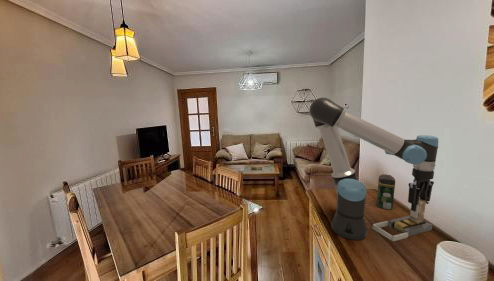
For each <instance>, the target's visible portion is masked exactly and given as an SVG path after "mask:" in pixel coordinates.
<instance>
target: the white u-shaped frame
mask: <svg viewBox="0 0 494 281" xmlns="http://www.w3.org/2000/svg"><path fill="white" fill-rule="evenodd" d="M383 227H389V226H388V220H385V221H381V222H376V223H373V224H372V227H371V229H372V230H374V231H375V232H377V233H378V234H380V235H382V236H383V237H385V238H387V239H388V240H389V241H391V242H396V241H401V240H403V239H407V238H408V237H409V236H408V233H407V232H406V233H402V234H401V233H398V234H395V235H393V234H390V233H389V232H387V231H386V230H384V229H383Z"/></svg>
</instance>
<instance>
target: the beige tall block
mask: <svg viewBox="0 0 494 281" xmlns="http://www.w3.org/2000/svg"><path fill="white" fill-rule="evenodd" d="M418 205H419V210H418V217H417V218H414V217H412V216H410V215H409V216H410V221H411V222H413V223H415V224H416V226H417V225H421V224H423V221H424V220H425V219H424V218H425V212H426V201H425V200H422V199H420V198H419V202H418Z"/></svg>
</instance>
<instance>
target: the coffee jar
mask: <svg viewBox="0 0 494 281" xmlns="http://www.w3.org/2000/svg"><path fill="white" fill-rule="evenodd" d="M377 183H378V184H377V190H376V191H377V193H376V205H377V207H378V208H380V209H383V210H393V208H394V199H395V198H394V197H395V188H396V179H395V177H394V176H392V175H390V174H384V173H382V174H381V175H380V174H379V176H378V181H377Z"/></svg>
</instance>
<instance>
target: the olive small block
mask: <svg viewBox="0 0 494 281" xmlns="http://www.w3.org/2000/svg"><path fill="white" fill-rule="evenodd" d="M402 223H404V224H406V225H408V228H409V227H413V226H416V224H415V223H413V222H411V221H409V220H407V219H406V220H402Z"/></svg>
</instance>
